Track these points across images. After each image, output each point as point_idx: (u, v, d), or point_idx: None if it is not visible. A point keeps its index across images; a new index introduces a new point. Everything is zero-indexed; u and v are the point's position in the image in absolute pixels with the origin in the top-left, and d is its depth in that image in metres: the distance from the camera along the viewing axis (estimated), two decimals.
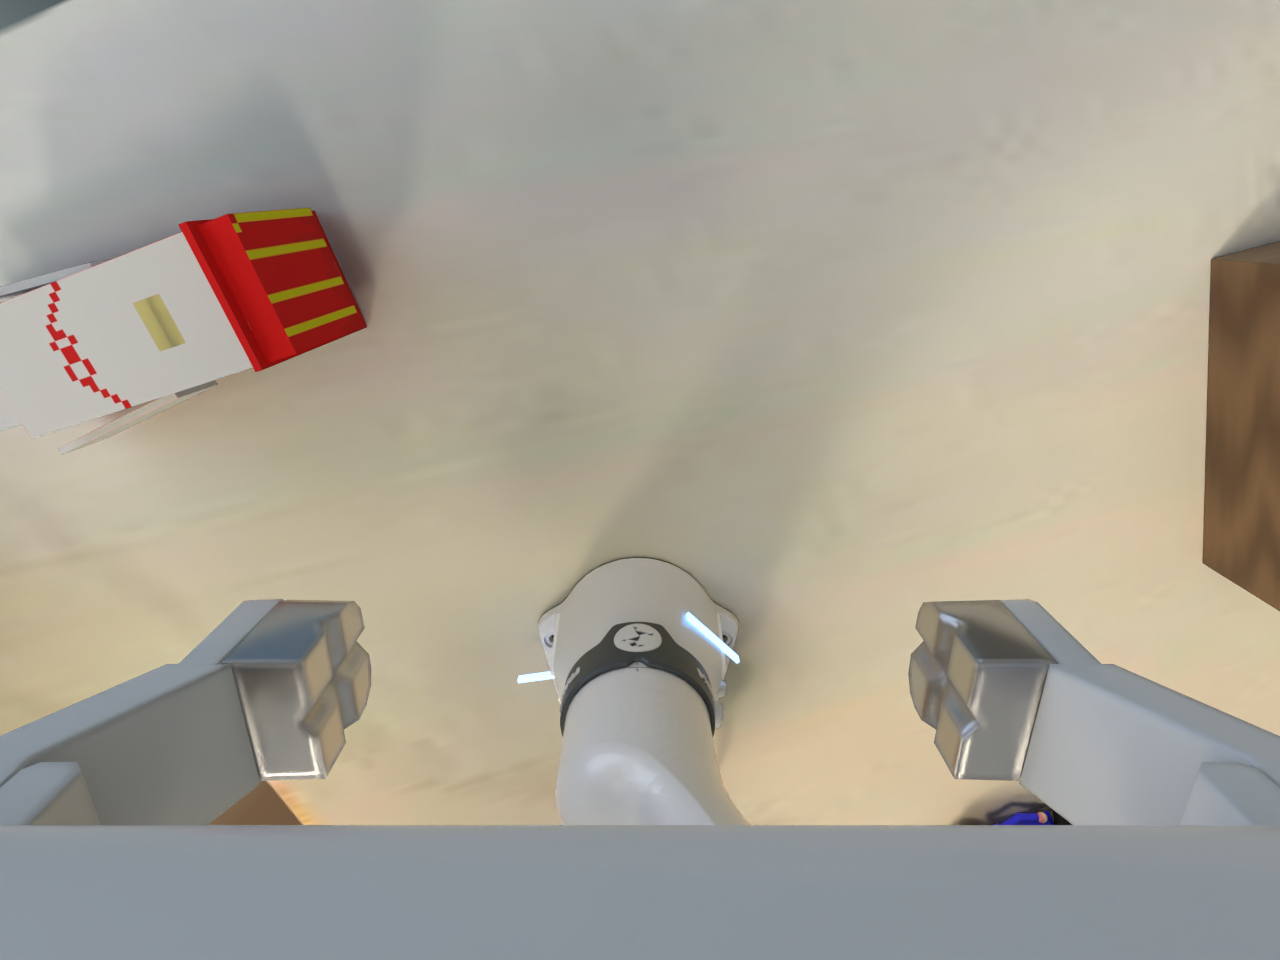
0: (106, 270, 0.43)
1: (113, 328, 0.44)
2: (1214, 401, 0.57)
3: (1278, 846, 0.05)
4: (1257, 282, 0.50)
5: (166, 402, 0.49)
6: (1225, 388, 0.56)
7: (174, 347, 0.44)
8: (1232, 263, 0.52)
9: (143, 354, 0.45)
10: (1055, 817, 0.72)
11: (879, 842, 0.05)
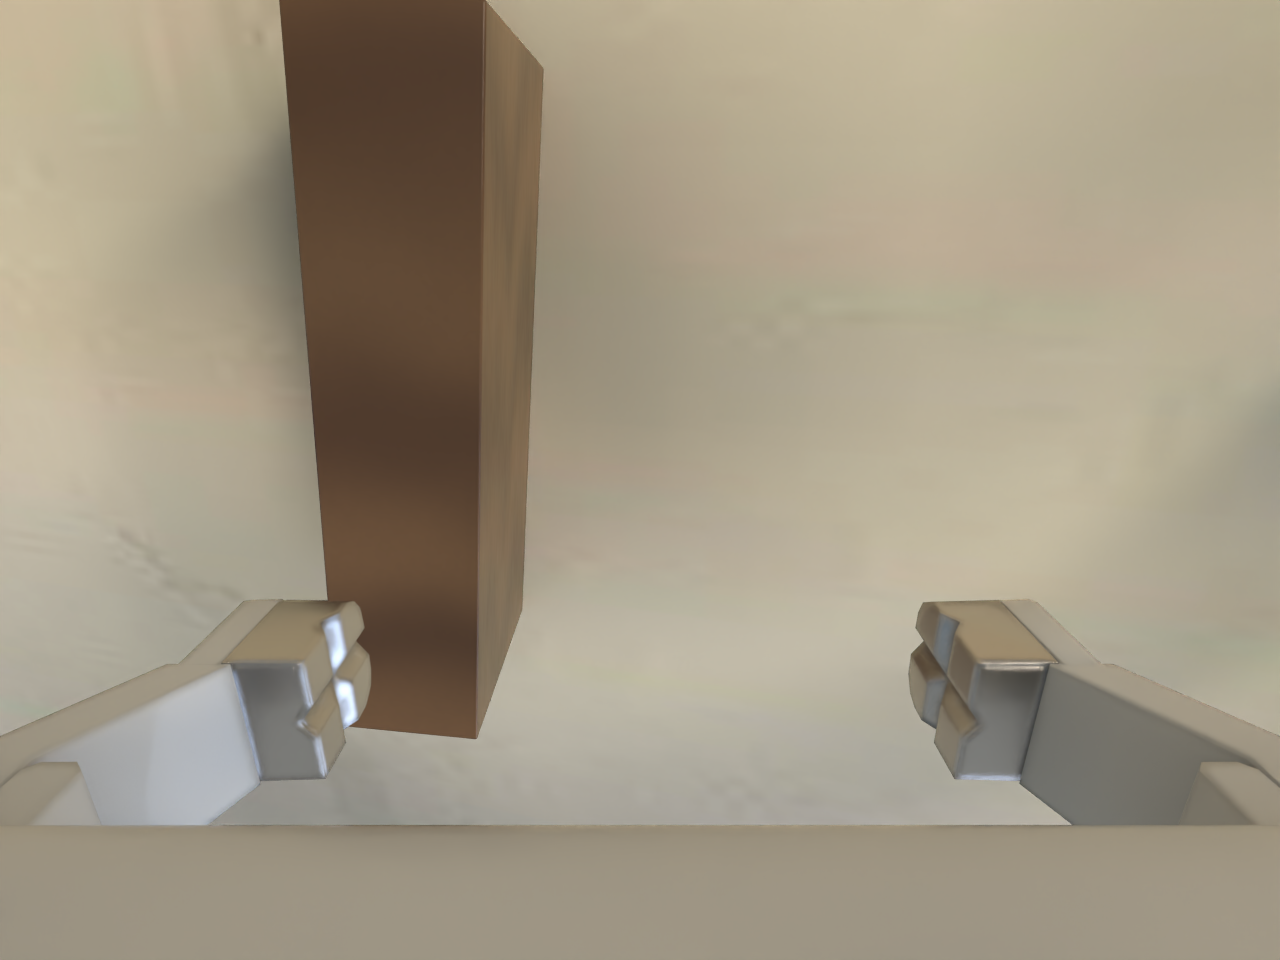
0: None
1: None
2: (527, 424, 0.35)
3: (1278, 846, 0.05)
4: (506, 634, 0.36)
5: None
6: (522, 457, 0.35)
7: None
8: (515, 627, 0.38)
9: None
10: None
11: (879, 842, 0.05)
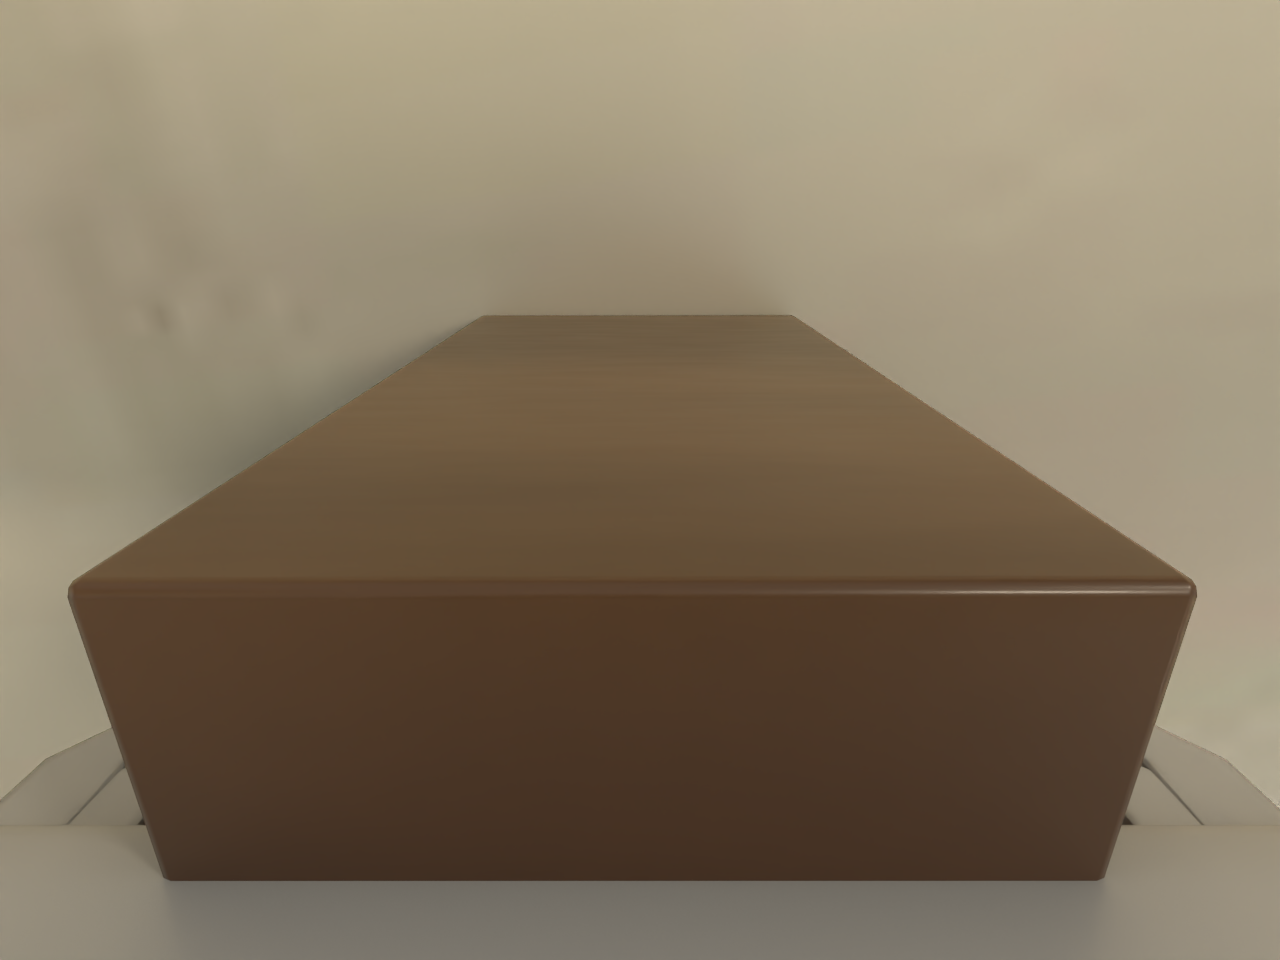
0: None
1: None
2: None
3: (1278, 846, 0.05)
4: None
5: None
6: None
7: None
8: None
9: None
10: None
11: None
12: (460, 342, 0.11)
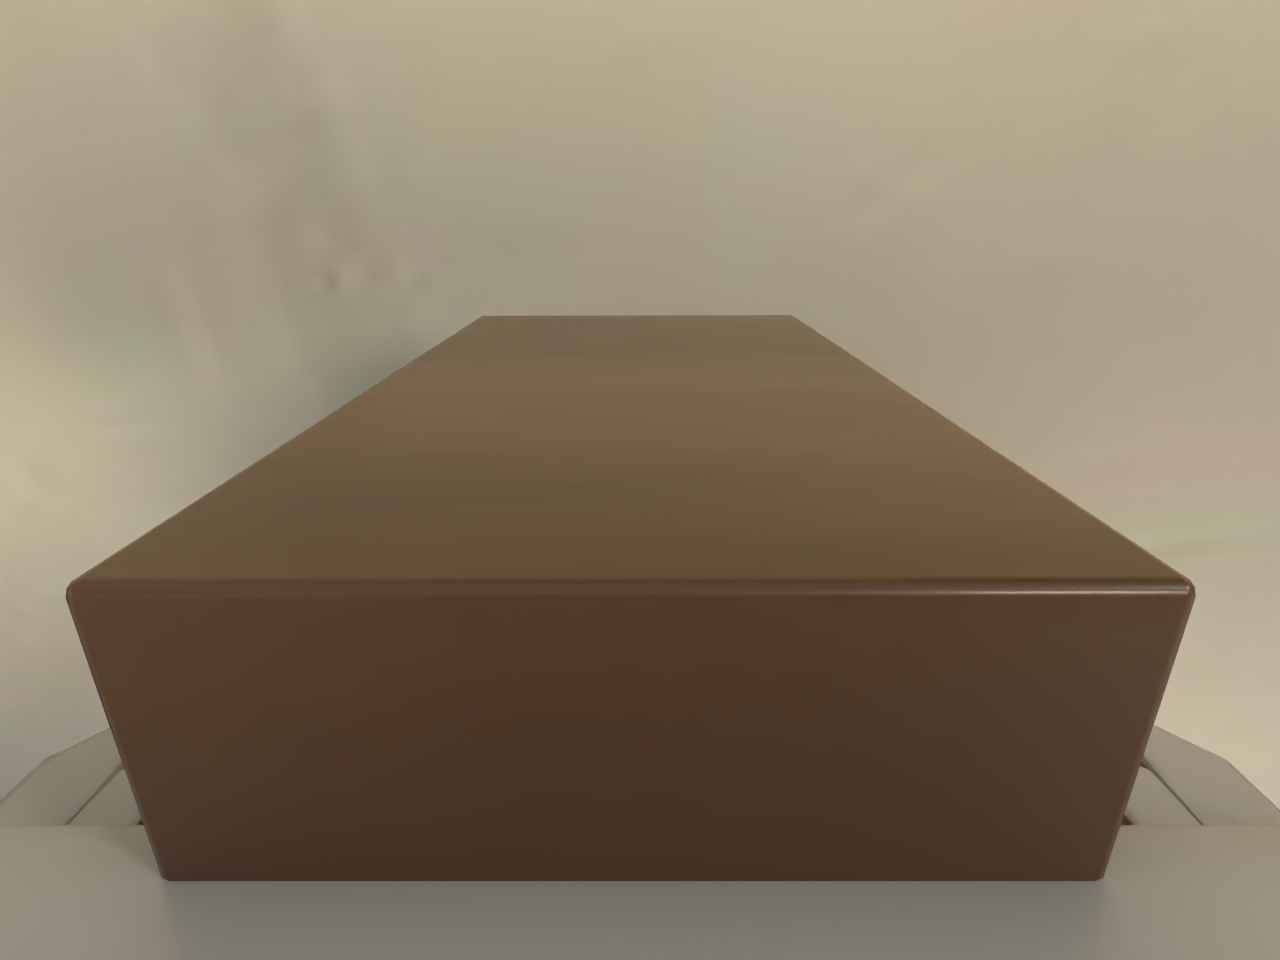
0: None
1: None
2: None
3: (1278, 846, 0.05)
4: None
5: None
6: None
7: None
8: None
9: None
10: None
11: None
12: (459, 342, 0.11)
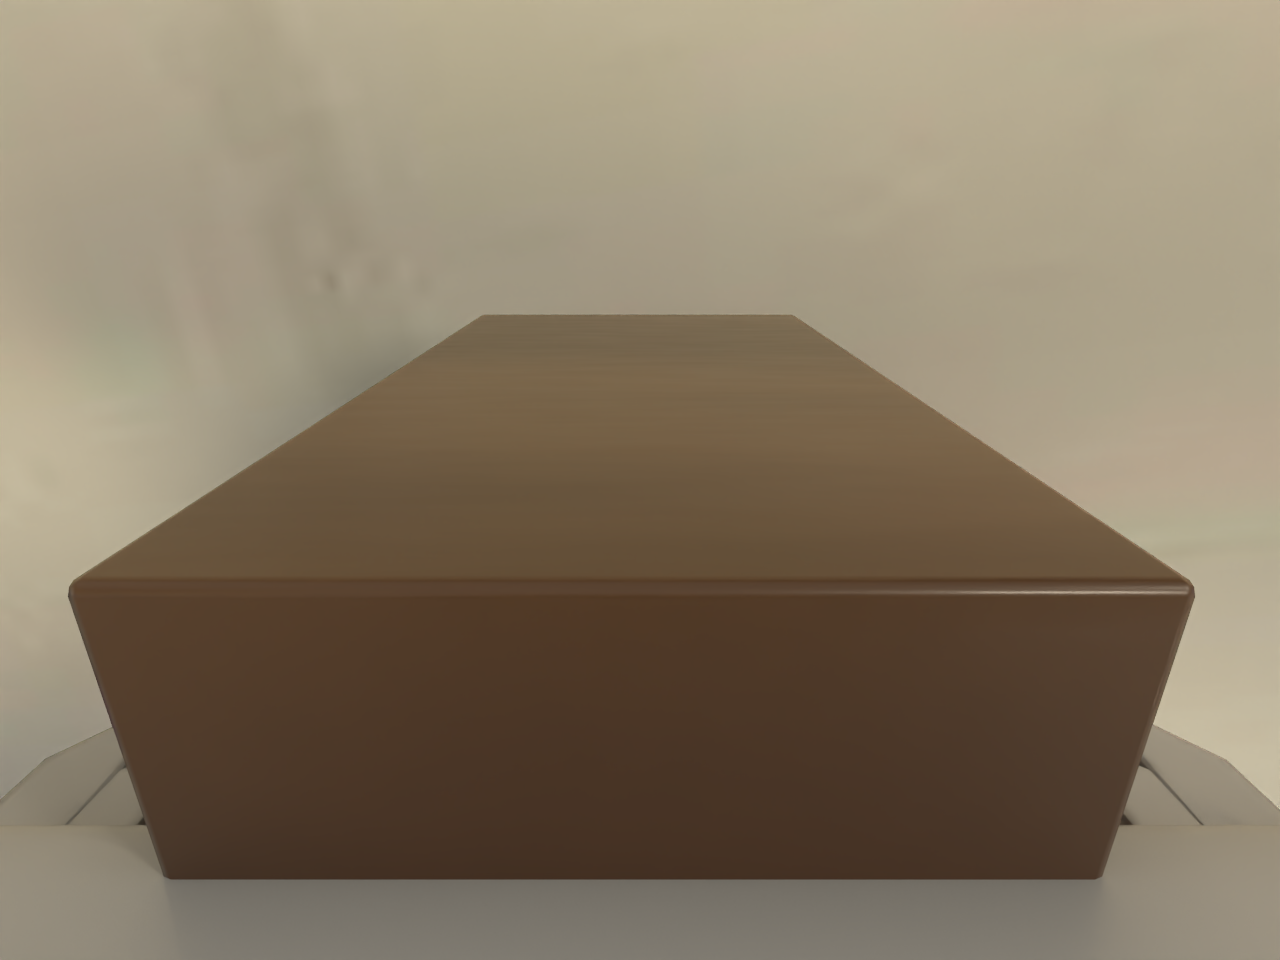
0: None
1: None
2: None
3: (1278, 846, 0.05)
4: None
5: None
6: None
7: None
8: None
9: None
10: None
11: None
12: (460, 341, 0.11)
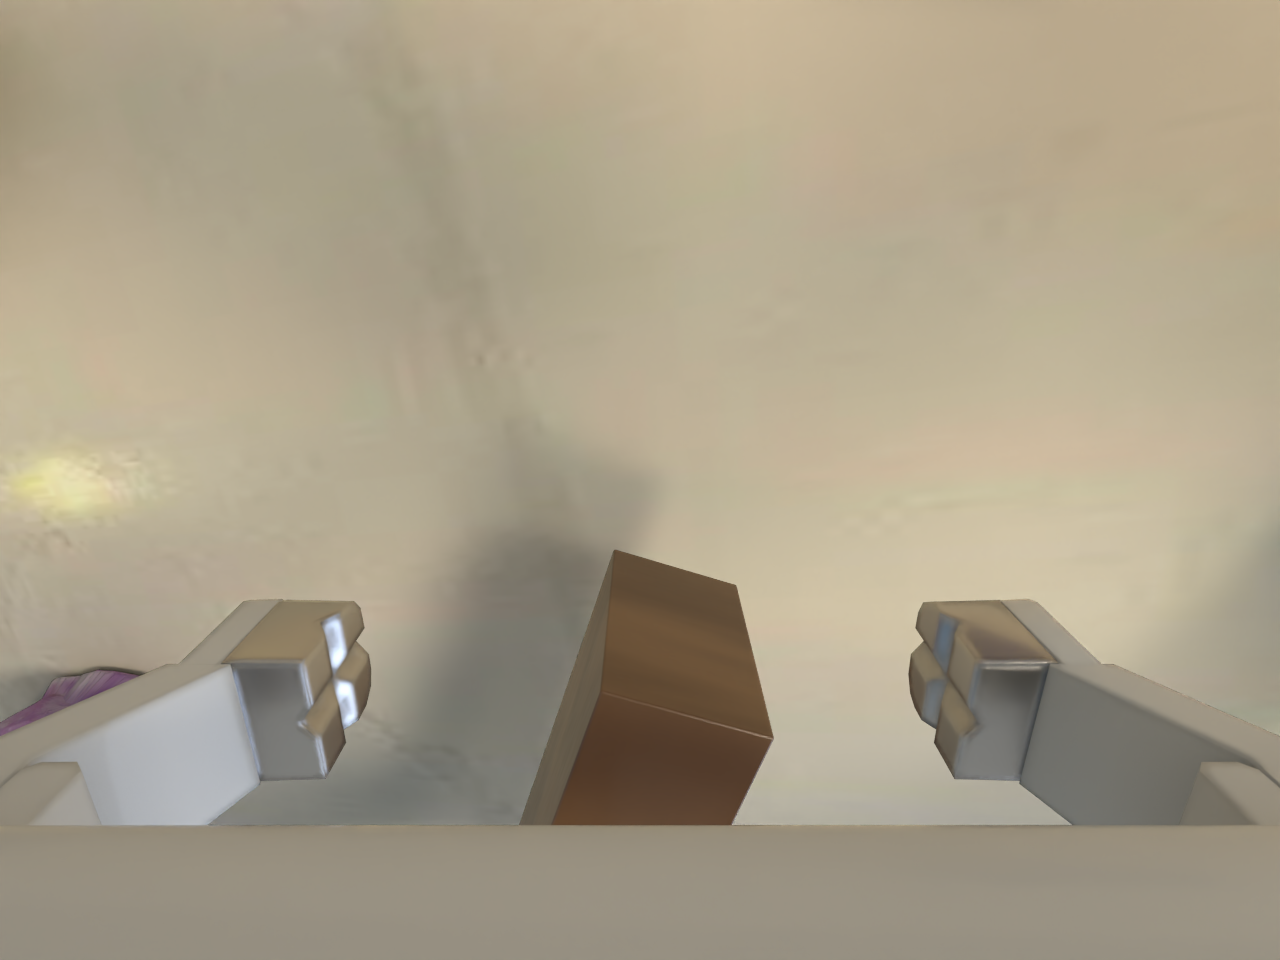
0: None
1: None
2: None
3: (1278, 846, 0.05)
4: None
5: None
6: None
7: None
8: None
9: None
10: None
11: (879, 842, 0.05)
12: (619, 582, 0.30)
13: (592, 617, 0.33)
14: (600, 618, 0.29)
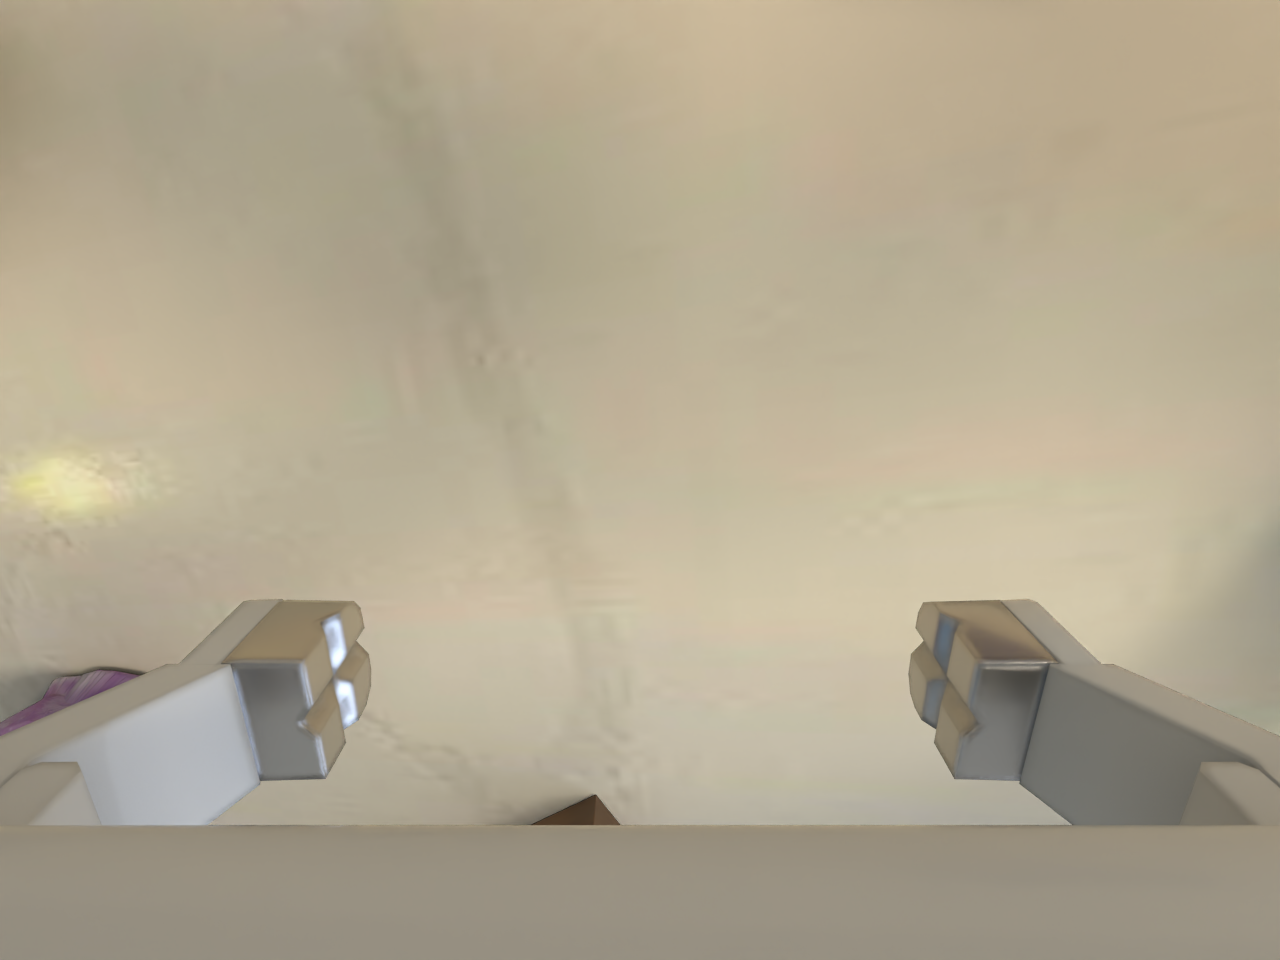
0: None
1: None
2: None
3: (1278, 846, 0.05)
4: None
5: None
6: None
7: None
8: None
9: None
10: None
11: (879, 842, 0.05)
12: None
13: (556, 821, 0.51)
14: None
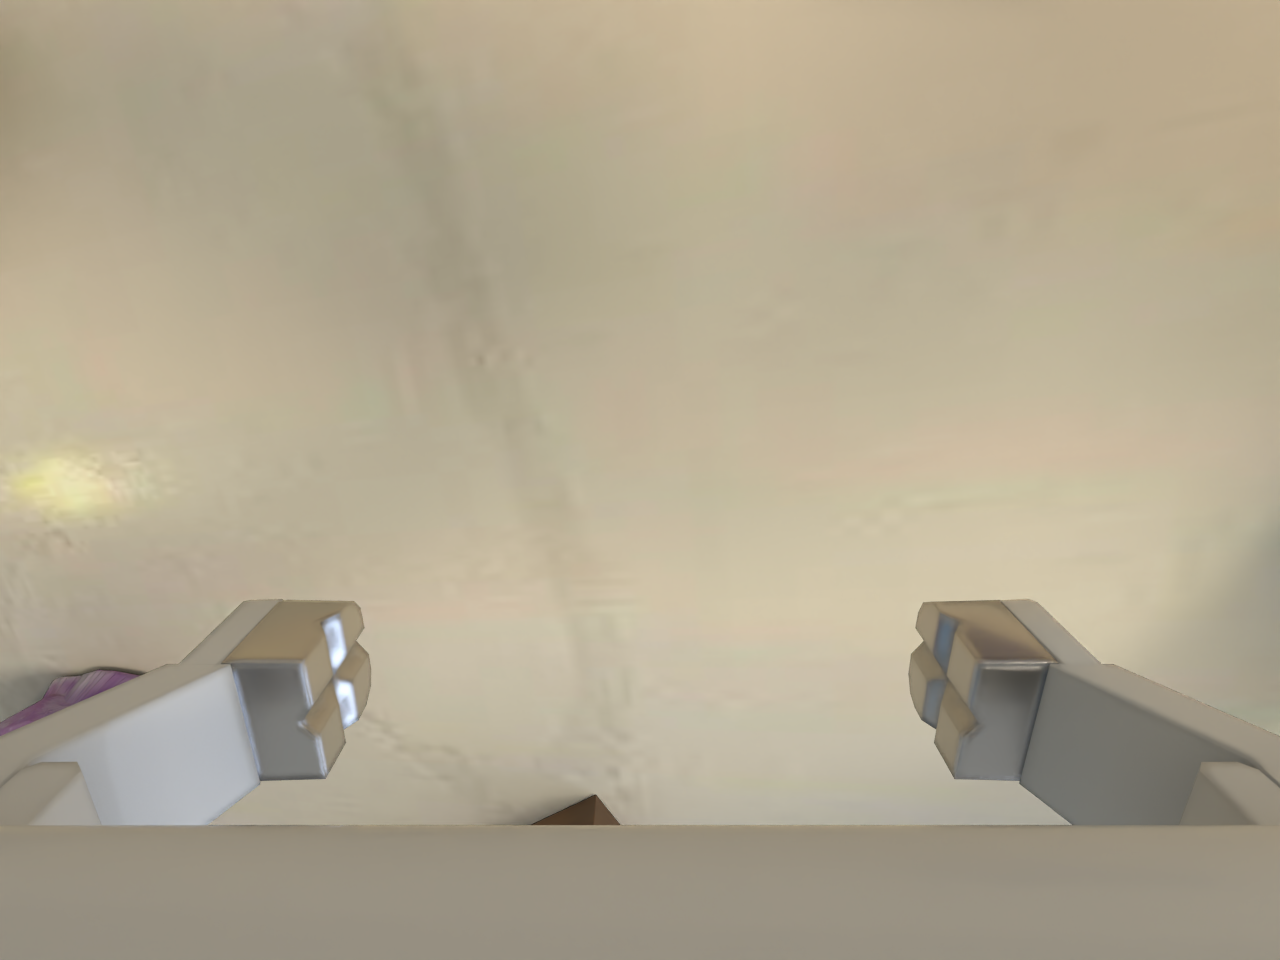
0: None
1: None
2: None
3: (1278, 846, 0.05)
4: None
5: None
6: None
7: None
8: None
9: None
10: None
11: (879, 842, 0.05)
12: None
13: (556, 821, 0.51)
14: None
